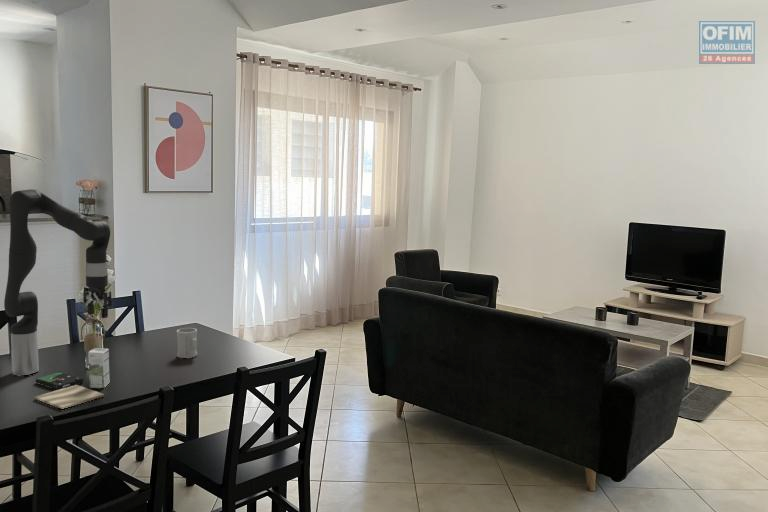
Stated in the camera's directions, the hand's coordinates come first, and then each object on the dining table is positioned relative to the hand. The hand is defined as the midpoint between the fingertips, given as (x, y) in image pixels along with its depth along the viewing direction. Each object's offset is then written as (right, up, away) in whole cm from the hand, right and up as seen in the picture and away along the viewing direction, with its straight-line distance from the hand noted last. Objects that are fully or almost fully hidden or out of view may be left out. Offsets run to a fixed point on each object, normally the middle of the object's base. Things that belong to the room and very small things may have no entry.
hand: (97, 316), depth 235 cm
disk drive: (-17, -28, +6) cm, 33 cm away
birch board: (-6, -29, -10) cm, 31 cm away
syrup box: (-1, -28, +4) cm, 28 cm away
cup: (+20, -23, +45) cm, 55 cm away
